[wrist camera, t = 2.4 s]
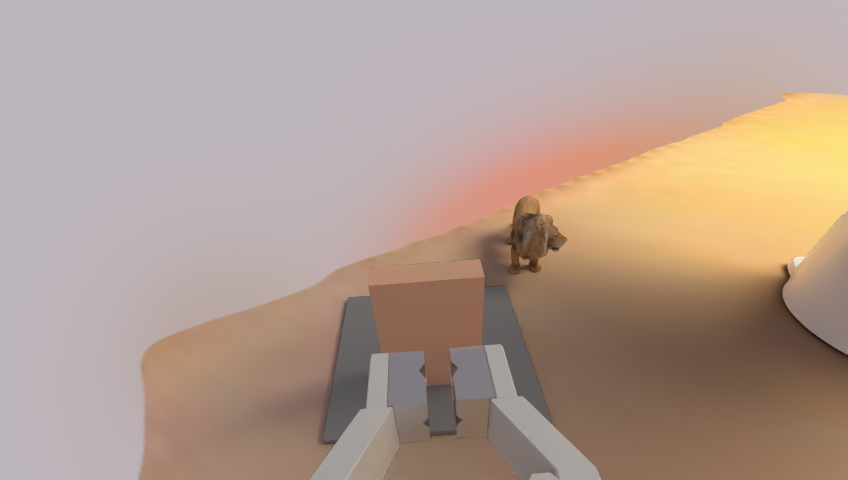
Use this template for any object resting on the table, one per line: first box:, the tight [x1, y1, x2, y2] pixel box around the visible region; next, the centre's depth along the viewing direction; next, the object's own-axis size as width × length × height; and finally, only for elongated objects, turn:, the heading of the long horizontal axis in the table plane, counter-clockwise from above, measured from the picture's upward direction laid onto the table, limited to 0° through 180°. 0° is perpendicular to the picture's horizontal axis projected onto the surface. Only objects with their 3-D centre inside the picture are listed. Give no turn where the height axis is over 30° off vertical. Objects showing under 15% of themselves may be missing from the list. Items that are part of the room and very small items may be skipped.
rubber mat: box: [323, 285, 552, 444], centre depth 35 cm, size 18×16×1 cm
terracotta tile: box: [368, 259, 485, 386], centre depth 29 cm, size 8×2×12 cm, turn 93°
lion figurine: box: [507, 196, 567, 274], centre depth 44 cm, size 15×5×9 cm, turn 178°
